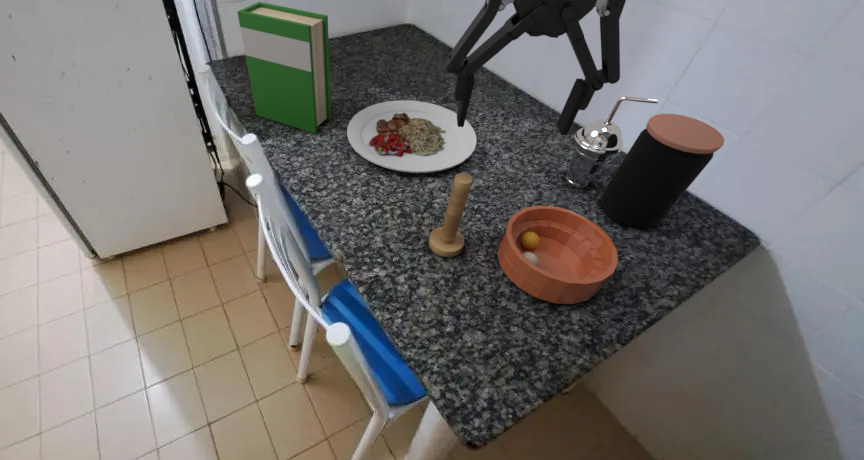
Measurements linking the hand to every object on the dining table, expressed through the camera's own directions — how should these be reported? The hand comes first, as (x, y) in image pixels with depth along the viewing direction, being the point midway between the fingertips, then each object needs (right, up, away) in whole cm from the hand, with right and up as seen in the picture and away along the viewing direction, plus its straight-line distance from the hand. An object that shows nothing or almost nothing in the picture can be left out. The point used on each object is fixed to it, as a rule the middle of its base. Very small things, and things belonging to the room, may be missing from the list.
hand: (510, 125), depth 53 cm
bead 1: (+9, -16, +14) cm, 23 cm away
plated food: (-8, +7, +39) cm, 40 cm away
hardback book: (-37, +14, +45) cm, 60 cm away
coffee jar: (+32, -11, +23) cm, 40 cm away
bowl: (+11, -20, +13) cm, 27 cm away
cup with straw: (+26, -4, +29) cm, 39 cm away
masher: (-5, -17, +16) cm, 24 cm away
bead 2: (+7, -19, +11) cm, 23 cm away
